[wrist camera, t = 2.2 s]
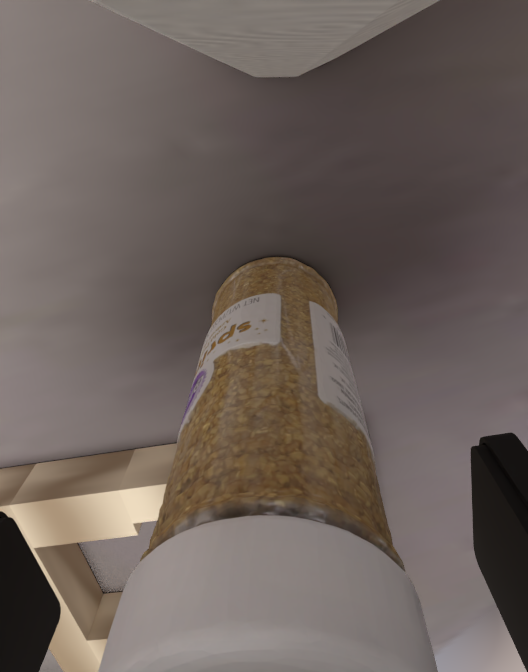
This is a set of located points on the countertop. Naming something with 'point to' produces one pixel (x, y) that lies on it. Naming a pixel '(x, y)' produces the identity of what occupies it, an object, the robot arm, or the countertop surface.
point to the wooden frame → (83, 533)
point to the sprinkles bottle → (271, 506)
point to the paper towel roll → (269, 28)
